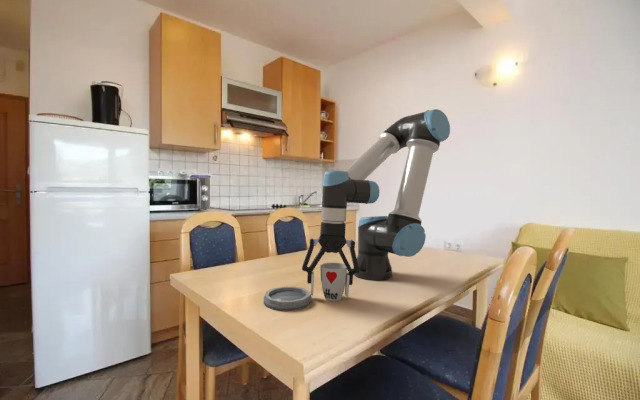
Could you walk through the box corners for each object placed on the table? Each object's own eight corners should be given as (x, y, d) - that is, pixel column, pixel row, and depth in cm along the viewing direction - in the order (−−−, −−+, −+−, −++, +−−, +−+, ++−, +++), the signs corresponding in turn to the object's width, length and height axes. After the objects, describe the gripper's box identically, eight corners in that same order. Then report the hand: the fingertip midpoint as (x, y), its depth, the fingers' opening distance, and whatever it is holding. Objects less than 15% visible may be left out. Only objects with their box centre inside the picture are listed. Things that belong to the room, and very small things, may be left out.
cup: (314, 298, 89) (314, 265, 89) (331, 291, 95) (332, 261, 95) (334, 305, 84) (335, 270, 83) (351, 298, 90) (352, 265, 89)
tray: (310, 292, 94) (310, 285, 94) (312, 310, 80) (312, 302, 80) (266, 292, 93) (266, 286, 93) (260, 310, 79) (260, 302, 79)
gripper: (367, 222, 93) (363, 291, 94) (296, 218, 92) (292, 289, 92) (373, 225, 86) (368, 300, 86) (295, 221, 84) (291, 297, 85)
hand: (329, 294), depth 89 cm, fingers open, 10 cm apart
